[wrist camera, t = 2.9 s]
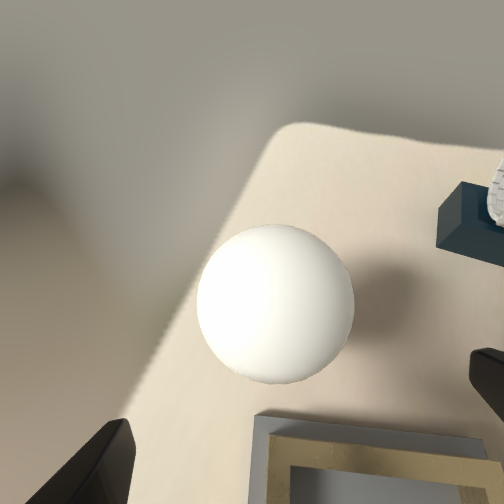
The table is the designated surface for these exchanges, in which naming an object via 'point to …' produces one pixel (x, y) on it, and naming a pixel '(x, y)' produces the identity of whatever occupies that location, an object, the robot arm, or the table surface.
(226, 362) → the lightbulb
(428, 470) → the socket plate
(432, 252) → the table surface
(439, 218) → the watch
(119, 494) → the robot arm
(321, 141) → the table surface
